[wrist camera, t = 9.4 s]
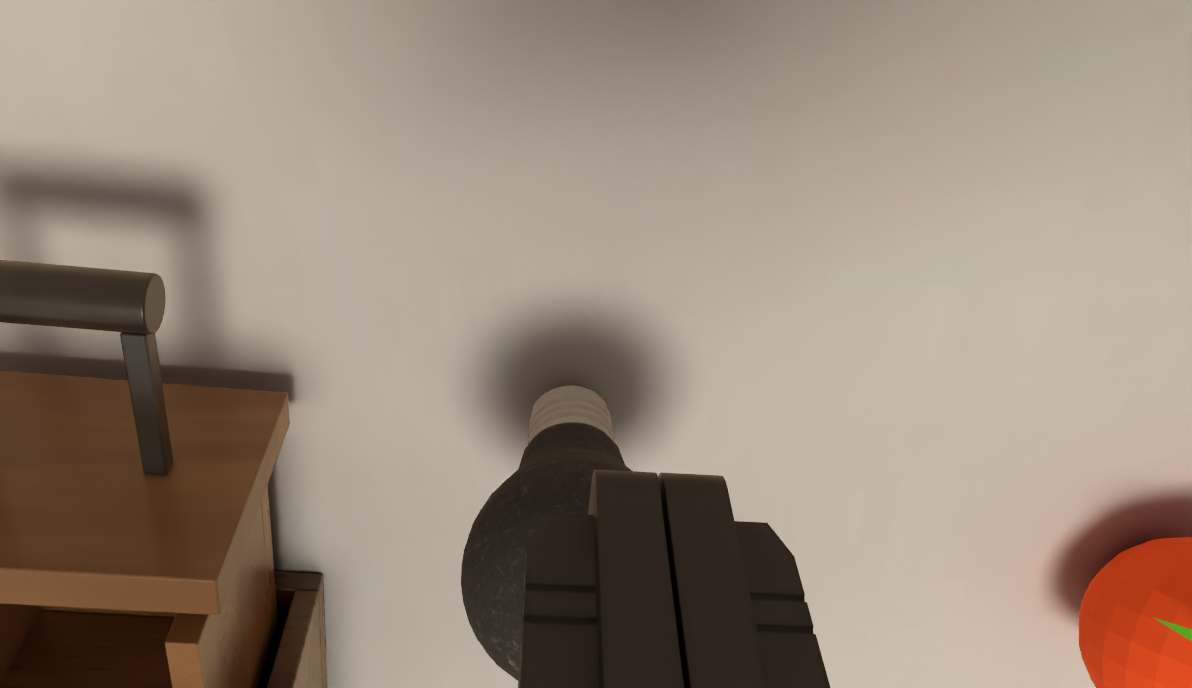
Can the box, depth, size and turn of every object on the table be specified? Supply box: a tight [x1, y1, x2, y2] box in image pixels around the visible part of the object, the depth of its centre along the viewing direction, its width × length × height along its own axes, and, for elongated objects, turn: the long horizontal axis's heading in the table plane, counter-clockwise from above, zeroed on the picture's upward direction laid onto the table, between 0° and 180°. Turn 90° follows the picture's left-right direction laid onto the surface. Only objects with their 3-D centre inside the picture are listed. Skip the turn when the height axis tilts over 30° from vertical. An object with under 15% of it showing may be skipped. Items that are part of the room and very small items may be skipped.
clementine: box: [1079, 537, 1192, 688], centre depth 32 cm, size 8×7×7 cm
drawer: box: [0, 260, 290, 688], centre depth 26 cm, size 15×9×7 cm, turn 173°
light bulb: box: [461, 385, 633, 681], centre depth 26 cm, size 6×6×10 cm
